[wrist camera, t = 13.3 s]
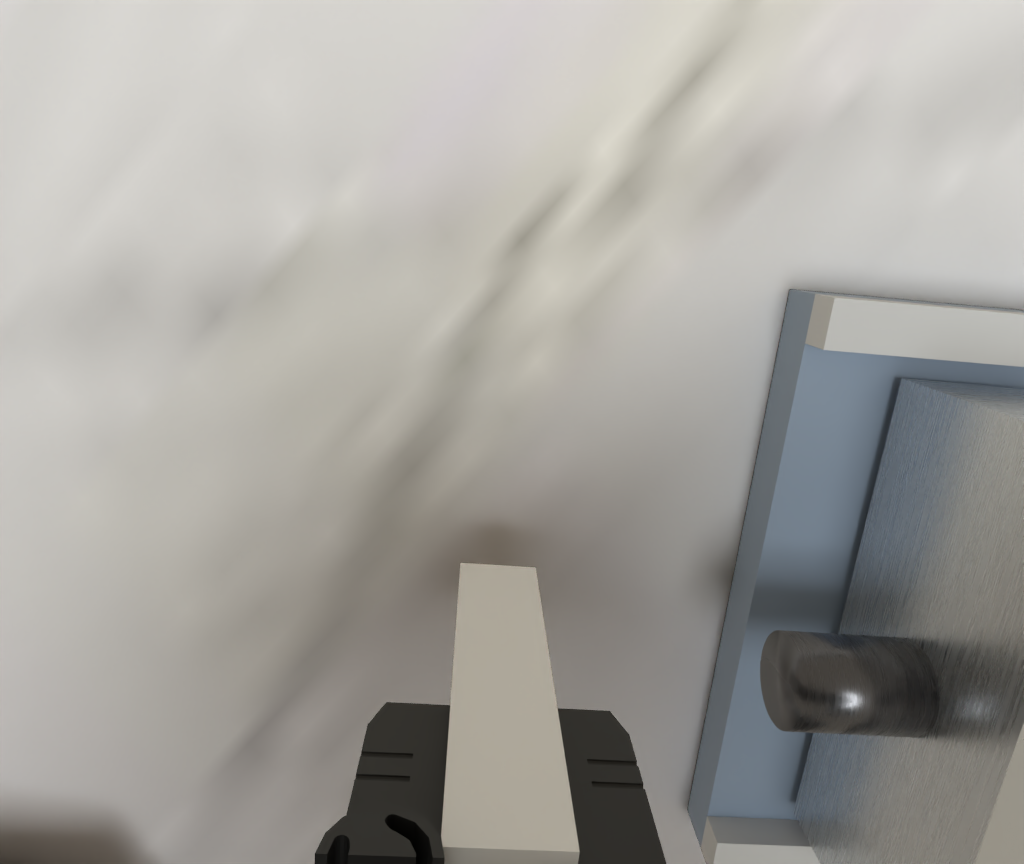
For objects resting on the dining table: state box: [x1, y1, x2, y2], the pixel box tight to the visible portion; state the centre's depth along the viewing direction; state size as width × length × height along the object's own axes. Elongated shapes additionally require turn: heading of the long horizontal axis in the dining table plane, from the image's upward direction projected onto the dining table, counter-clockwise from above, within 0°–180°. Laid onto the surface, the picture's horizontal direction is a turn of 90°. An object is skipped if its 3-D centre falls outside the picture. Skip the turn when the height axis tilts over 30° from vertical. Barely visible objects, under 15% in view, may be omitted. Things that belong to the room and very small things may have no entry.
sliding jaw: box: [760, 378, 1024, 864], centre depth 13 cm, size 11×6×5 cm, turn 175°
